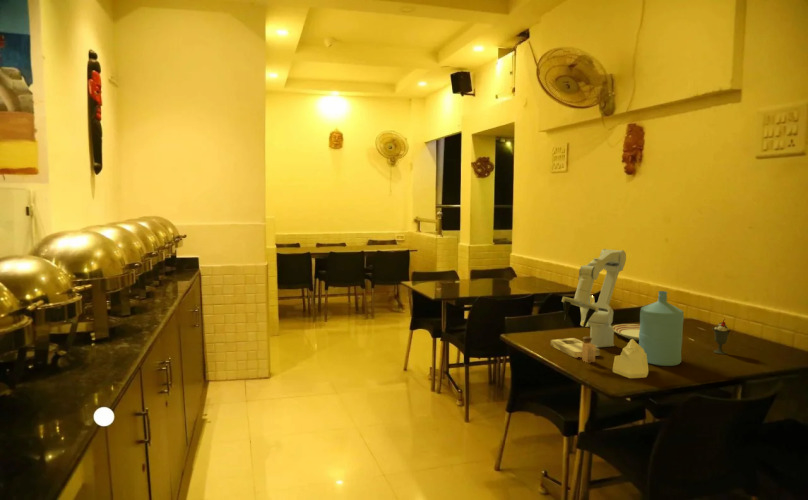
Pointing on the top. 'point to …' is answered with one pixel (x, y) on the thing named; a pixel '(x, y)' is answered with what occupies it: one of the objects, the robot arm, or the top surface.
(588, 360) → the brown wooden block
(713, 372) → the top surface
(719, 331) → the sundae
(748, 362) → the top surface
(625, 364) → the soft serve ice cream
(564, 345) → the board
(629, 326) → the dinner plate
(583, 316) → the beer glass
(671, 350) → the water jug
